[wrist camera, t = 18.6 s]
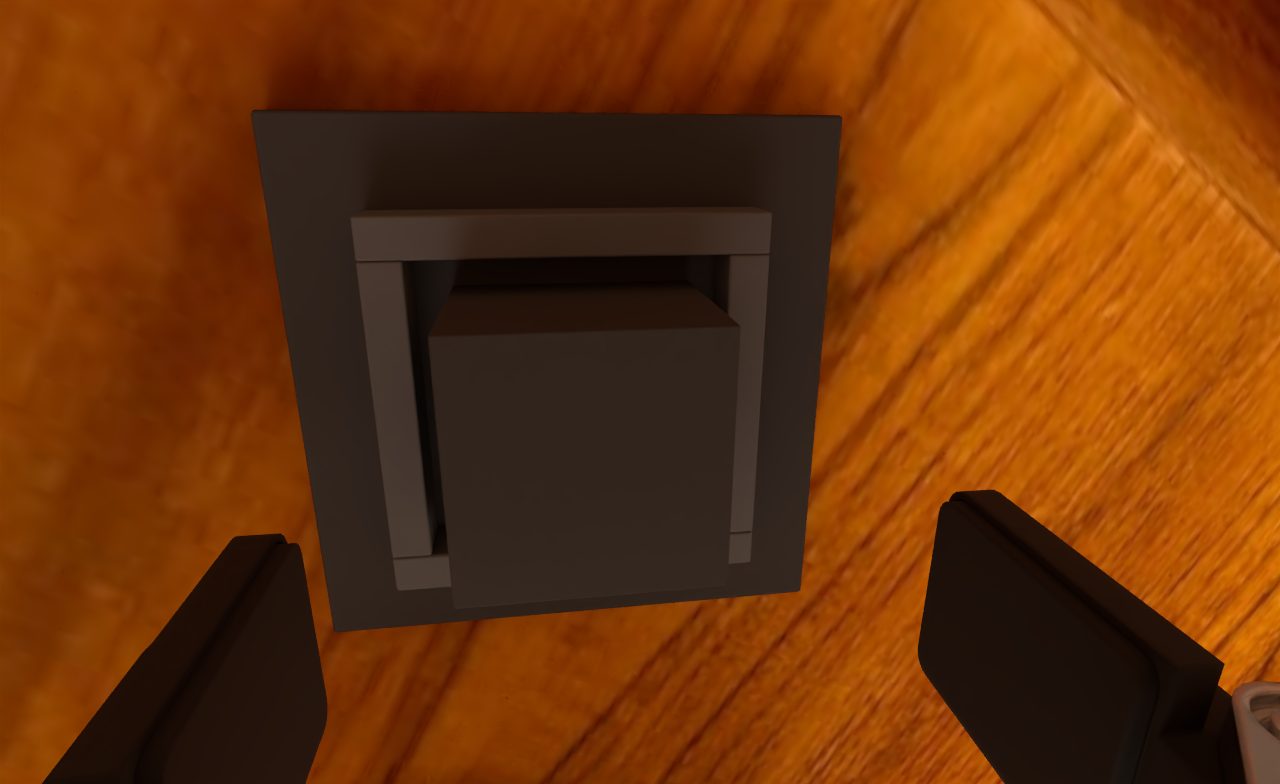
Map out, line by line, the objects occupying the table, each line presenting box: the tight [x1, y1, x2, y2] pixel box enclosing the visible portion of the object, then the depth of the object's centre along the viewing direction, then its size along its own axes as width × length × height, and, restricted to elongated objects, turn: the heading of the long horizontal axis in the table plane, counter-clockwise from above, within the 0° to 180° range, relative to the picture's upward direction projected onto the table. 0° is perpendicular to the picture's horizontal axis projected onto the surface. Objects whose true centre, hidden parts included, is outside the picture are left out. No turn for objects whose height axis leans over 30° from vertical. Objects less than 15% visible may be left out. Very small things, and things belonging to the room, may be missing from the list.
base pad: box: [251, 110, 842, 632], centre depth 19 cm, size 14×14×2 cm
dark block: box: [428, 280, 741, 609], centre depth 17 cm, size 6×6×5 cm
